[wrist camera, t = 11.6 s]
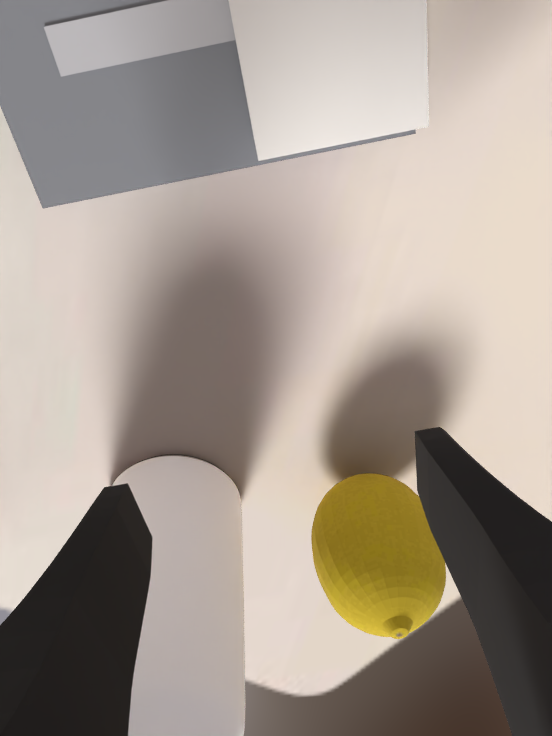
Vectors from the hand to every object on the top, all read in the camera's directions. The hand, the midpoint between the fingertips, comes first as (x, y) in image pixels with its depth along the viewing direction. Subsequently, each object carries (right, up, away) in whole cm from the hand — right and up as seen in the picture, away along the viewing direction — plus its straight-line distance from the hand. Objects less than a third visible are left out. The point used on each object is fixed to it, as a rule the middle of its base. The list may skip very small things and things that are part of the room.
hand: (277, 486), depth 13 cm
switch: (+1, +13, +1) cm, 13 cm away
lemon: (+4, -3, +13) cm, 14 cm away
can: (-5, -3, +13) cm, 14 cm away
